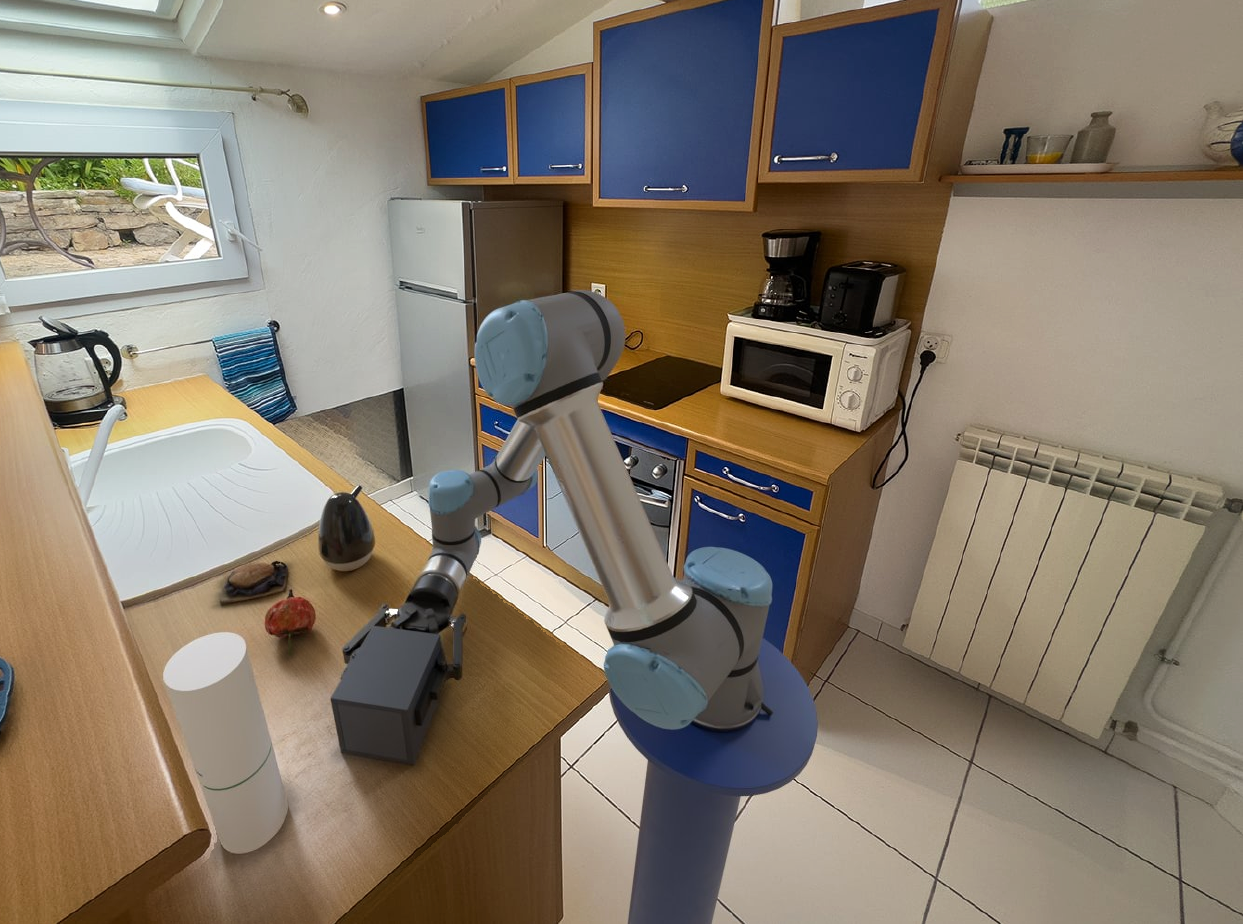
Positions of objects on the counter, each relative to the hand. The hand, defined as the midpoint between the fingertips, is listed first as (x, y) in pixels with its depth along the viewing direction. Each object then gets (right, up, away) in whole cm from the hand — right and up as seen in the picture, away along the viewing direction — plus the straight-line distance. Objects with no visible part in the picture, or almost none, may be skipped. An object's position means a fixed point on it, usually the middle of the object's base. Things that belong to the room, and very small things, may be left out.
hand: (377, 712), depth 70 cm
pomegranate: (-19, +1, +20) cm, 28 cm away
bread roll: (-32, +6, +31) cm, 44 cm away
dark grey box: (+1, -4, +6) cm, 8 cm away
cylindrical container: (-13, -9, -6) cm, 17 cm away
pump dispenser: (-17, +8, +37) cm, 41 cm away
